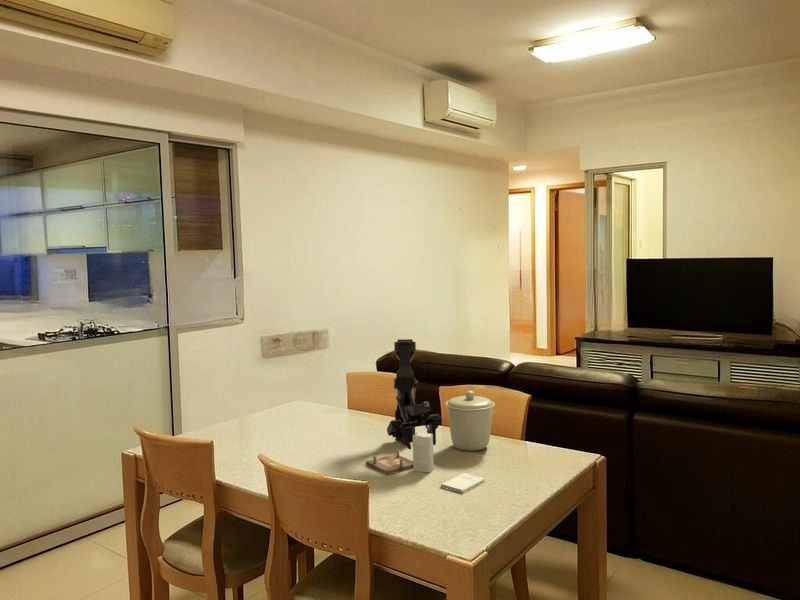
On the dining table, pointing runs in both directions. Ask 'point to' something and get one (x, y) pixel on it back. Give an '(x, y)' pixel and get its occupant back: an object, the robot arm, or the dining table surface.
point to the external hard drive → (463, 482)
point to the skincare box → (423, 452)
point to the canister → (470, 421)
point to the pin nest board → (390, 463)
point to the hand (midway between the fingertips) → (422, 446)
